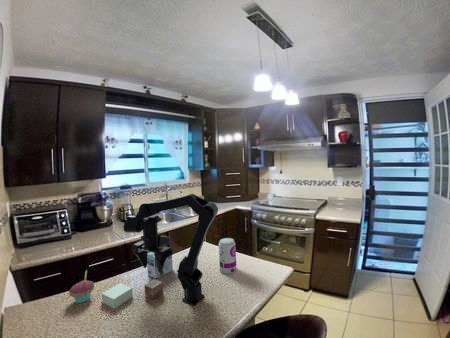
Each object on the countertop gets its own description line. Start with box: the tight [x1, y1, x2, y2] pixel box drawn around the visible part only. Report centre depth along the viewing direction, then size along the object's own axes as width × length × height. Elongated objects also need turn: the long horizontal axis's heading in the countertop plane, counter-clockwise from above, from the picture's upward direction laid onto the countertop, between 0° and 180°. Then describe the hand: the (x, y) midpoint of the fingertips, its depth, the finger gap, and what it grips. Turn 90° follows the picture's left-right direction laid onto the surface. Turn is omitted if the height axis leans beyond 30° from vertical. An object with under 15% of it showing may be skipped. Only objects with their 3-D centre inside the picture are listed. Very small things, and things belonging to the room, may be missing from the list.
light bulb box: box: [146, 252, 174, 280], centre depth 107 cm, size 11×7×11 cm, turn 143°
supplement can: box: [218, 237, 238, 275], centre depth 106 cm, size 8×8×15 cm
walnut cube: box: [143, 278, 164, 301], centre depth 89 cm, size 5×5×5 cm
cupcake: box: [68, 268, 95, 304], centre depth 88 cm, size 9×8×12 cm
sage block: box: [101, 282, 134, 309], centre depth 87 cm, size 8×8×4 cm
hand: (152, 270), depth 88 cm, fingers open, 9 cm apart
